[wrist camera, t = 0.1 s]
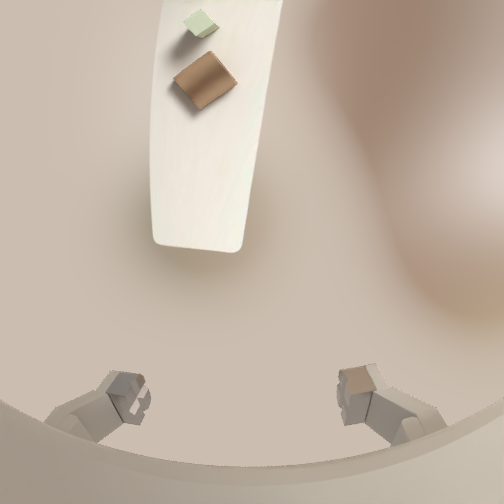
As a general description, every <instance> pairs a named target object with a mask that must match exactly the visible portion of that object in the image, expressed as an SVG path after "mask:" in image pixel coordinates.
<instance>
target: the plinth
mask: <svg viewBox="0 0 504 504" xmlns="http://www.w3.org/2000/svg"><path fill="white" fill-rule="evenodd" d="M173 79H174V80H175V81H176V83H177V84H178V85H179V86H180V87H181V88H182V89H183V91H184V92H185V93H186V94H187V95H188V96H189V98H190V99H191V100H192V101H193V102H194V103H195V105H196V106H197V107H198V108H199V109H200V110H201V109H202V108H203V107H205V106H206V105H207V104H209V103H210V102H212V101H213V100H214V99H216V98H217V97H219V96H220V95H222V94H223V93H225V92H226V91H228V90H229V89H231V88H232V87H234V86H235V85H237V82H236V81H235V79H234V78H233V77H232V76H231V74H230V73H229V72H228V71H227V69H226V68H225V67H224V66H223V64H222V63H221V62H220V61H219V60H218V58H217V57H216V56H215V55H214V54H213V53H212V51H209V52H207V53H206V54H205V55H203V56H202V57H200V58H199V59H198V60H196V61H195V62H193V63H192V64H191V65H189V66H188V67H187V68H185V69H184V70H183V71H182V72H180V73H179V74H178V75H177V76H175V77H174V78H173Z"/></svg>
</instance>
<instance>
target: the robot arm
mask: <svg viewBox="0 0 504 504" xmlns="http://www.w3.org/2000/svg"><path fill="white" fill-rule="evenodd" d="M338 378H339V381H340V383H339V384H338V385H337V400H338V405H339V407H340V408H342V412H341V416H342V419H343V423H344V425H345V426H346V425H352V424H358V423H364V422H365V424H366V425H368V426H369V427H370V428H371V429H373V430H374V431H375V432H376V433H378V434H379V435H380V436H382V437H383V438H384V439H385V440H387V441H388V442H389V443H391V446H390V447H389V448H386V449H382V450H378V451H374V452H371V453H367V454H362V455H357V456H353V457H347V458H342V459H337V460H330V461H324V462H316V463H308V464H298V465H287V466H267V467H231V466H213V465H201V464H192V463H184V462H176V461H170V460H163V459H158V458H152V457H147V456H143V455H138V454H134V453H129V452H126V451H122V450H118V449H114V448H111V447H107V446H104V445H101V444H97V443H98V442H99V441H100V440H102V439H103V438H104V437H106V436H107V435H109V434H110V433H111V432H113V431H114V430H115V429H117V428H118V427H119V426H121V425H122V424H123V423H128V424H134V425H140V423H141V422H142V420H143V418H144V415H145V414H144V412H143V411H145V410H146V409H148V407H149V405H150V400H151V396H150V392H149V389H148V388H147V387H146V386H145V385H144V383H145V379H144V377H143V375H141V374H136V373H129V372H121V371H114V370H112V371H110V372H109V374H108V375H107V376H106V378H105V379H104V380H103V382H102V383H101V384H100V386H99V387H98V388H97V390H96V391H94V390H93V391H91V392H88V393H86V394H84V395H82V396H80V397H78V398H76V399H74V400H71V401H69V402H67V403H65V404H63V405H60V406H58V407H56V408H55V409H54V410H53V411H52V412H51V414H50V415H49V416H48V417H47V419H46V420H45V421H44V422H41V421H39V420H37V419H35V418H32V417H31V416H28V415H27V414H25V413H23V412H21V411H19V410H17V409H15V408H14V407H12V406H10V405H8V404H7V403H5V402H4V401H2V400H0V504H504V398H502V399H500V400H499V401H497V402H495V403H494V404H492V405H490V406H488V407H487V408H485V409H483V410H481V411H479V412H478V413H475V414H474V415H472V416H470V417H468V418H466V419H464V420H461V421H459V422H457V423H455V424H453V425H451V426H447V425H446V423H445V421H444V420H443V418H442V416H441V415H440V413H439V412H438V410H437V409H436V407H434V406H431V405H429V404H427V403H425V402H422V401H421V400H419V399H416V398H414V397H412V396H410V395H408V394H406V393H404V392H402V391H400V390H398V389H396V388H394V387H389V386H388V384H387V382H386V381H385V379H384V377H383V375H382V373H381V371H380V370H379V368H378V366H377V364H369V365H364V366H360V367H355V368H349V369H342V370H340V371H339V376H338Z"/></svg>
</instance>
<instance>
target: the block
mask: <svg viewBox="0 0 504 504" xmlns="http://www.w3.org/2000/svg"><path fill="white" fill-rule="evenodd" d="M183 23H184V24H185V25H186V26H187V27H188V28H189V30H190V31H191V32H192V33H193V34H194V35H195V36H197V37H201V38H204V37H206V36H207V35H209V34H210V33H212V32H213V31H215V30H216V29H218V28H219V26H218V25H217V24H216V22H215V21H214V20H213V19H212V18H211V17H210V16H209V15H208V14H207V13H206V12H205V11H203V10H202V9H200V10H199V11H197V12H196V13H194V14H193V15H191V16H190V17H188V18H187V19H186V20H184V21H183Z"/></svg>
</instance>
